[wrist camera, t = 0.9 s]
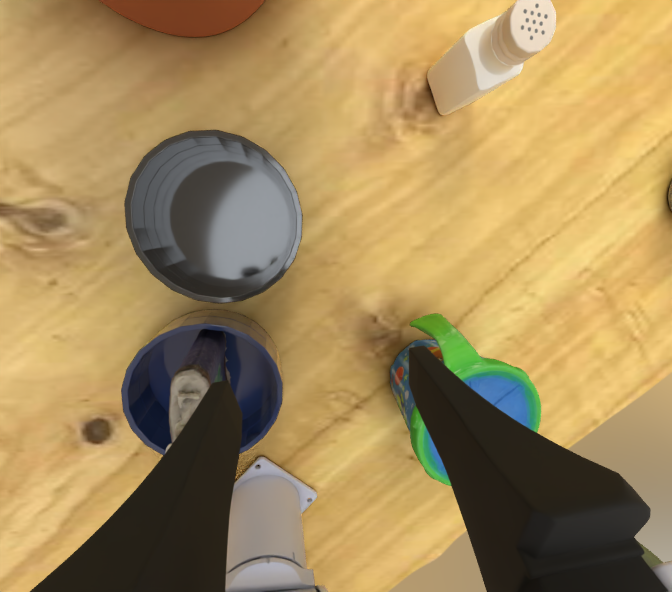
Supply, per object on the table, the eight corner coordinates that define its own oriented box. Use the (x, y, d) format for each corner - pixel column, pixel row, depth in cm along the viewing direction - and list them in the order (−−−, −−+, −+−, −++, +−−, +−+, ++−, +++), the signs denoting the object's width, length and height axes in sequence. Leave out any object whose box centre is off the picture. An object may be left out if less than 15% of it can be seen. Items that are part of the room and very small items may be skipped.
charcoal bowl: (235, 318, 29) (229, 334, 25) (115, 222, 26) (83, 222, 21) (325, 221, 29) (335, 220, 24) (216, 111, 25) (205, 88, 21)
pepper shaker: (437, 119, 29) (515, 70, 20) (422, 72, 28) (496, -3, 19) (475, 101, 29) (569, 44, 20) (461, 54, 28) (554, -29, 19)
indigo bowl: (223, 451, 32) (216, 487, 27) (113, 381, 28) (84, 409, 24) (306, 363, 31) (312, 385, 27) (205, 281, 28) (193, 291, 24)
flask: (235, 416, 31) (217, 511, 20) (203, 420, 30) (167, 520, 20) (226, 323, 29) (200, 377, 18) (191, 326, 28) (144, 383, 18)
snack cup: (473, 419, 37) (546, 490, 27) (386, 447, 35) (431, 533, 25) (459, 288, 33) (539, 315, 23) (361, 314, 31) (402, 354, 22)
